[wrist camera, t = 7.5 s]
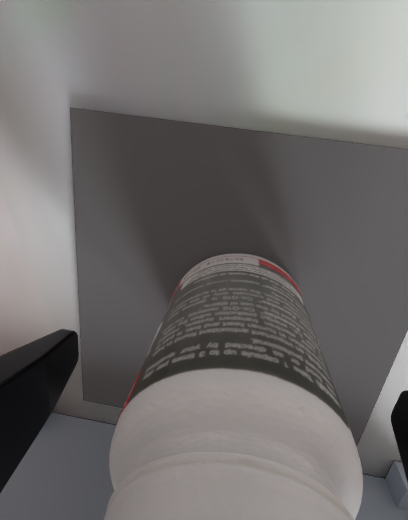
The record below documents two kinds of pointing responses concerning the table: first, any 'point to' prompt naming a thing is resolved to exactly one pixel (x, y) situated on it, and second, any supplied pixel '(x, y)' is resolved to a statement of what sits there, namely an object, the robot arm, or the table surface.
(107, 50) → the table surface
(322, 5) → the table surface
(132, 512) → the pill bottle
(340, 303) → the mat
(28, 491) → the screen
